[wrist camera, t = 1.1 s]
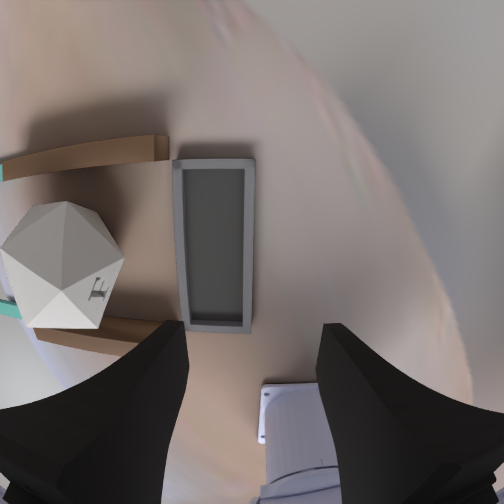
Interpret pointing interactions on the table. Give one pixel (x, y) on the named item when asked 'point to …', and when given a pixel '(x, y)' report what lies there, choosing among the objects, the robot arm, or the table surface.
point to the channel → (80, 156)
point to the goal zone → (3, 305)
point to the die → (61, 266)
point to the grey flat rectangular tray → (214, 242)
